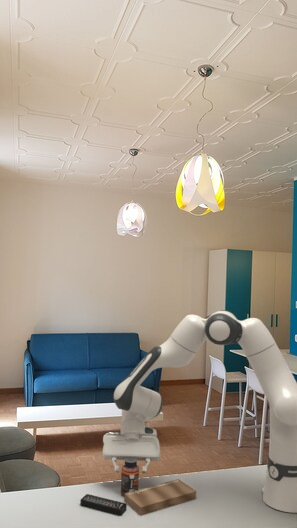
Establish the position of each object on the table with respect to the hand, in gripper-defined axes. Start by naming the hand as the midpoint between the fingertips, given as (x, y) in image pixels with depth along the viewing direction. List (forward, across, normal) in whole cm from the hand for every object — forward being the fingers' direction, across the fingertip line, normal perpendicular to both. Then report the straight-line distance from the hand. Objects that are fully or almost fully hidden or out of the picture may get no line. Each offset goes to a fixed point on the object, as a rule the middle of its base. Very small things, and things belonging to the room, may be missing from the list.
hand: (130, 472), depth 153 cm
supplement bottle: (+5, 0, +5) cm, 7 cm away
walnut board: (+8, +10, +2) cm, 13 cm away
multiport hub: (+12, -8, -2) cm, 15 cm away
